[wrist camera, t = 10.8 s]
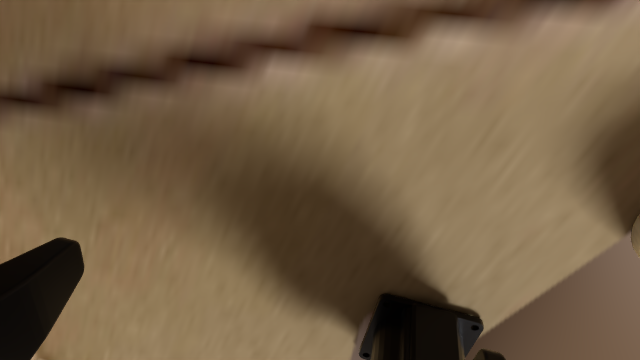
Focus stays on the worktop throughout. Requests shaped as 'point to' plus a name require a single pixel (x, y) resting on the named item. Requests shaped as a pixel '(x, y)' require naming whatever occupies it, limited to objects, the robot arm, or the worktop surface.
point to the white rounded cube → (636, 236)
